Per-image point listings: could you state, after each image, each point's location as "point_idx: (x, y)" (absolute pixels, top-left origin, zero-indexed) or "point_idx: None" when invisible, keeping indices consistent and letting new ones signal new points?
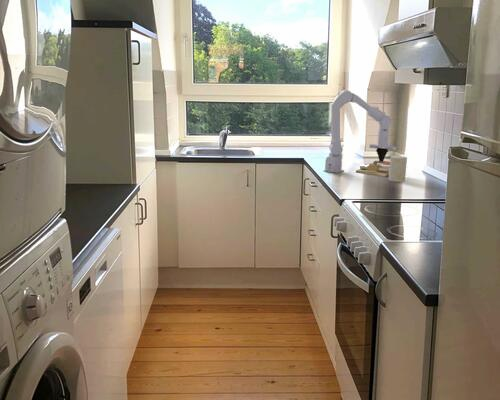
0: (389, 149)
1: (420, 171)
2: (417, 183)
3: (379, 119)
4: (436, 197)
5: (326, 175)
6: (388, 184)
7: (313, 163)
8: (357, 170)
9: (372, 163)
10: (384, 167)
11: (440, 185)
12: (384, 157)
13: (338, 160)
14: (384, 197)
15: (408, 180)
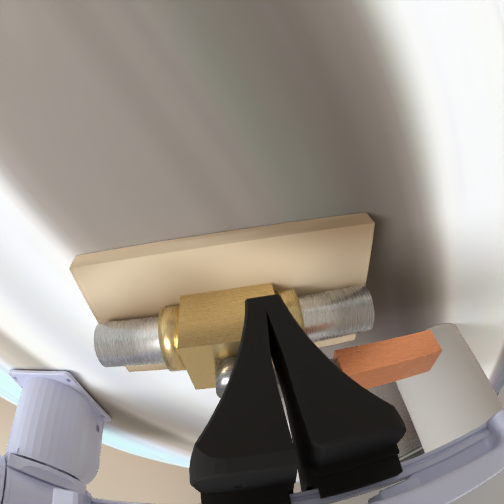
0: (434, 458)
1: None
2: (494, 327)
3: None
4: (496, 391)
5: (146, 449)
6: (402, 407)
7: None
8: (139, 370)
9: (191, 354)
10: (338, 335)
11: None
12: (308, 339)
13: (82, 459)
14: (407, 450)
15: (471, 311)
